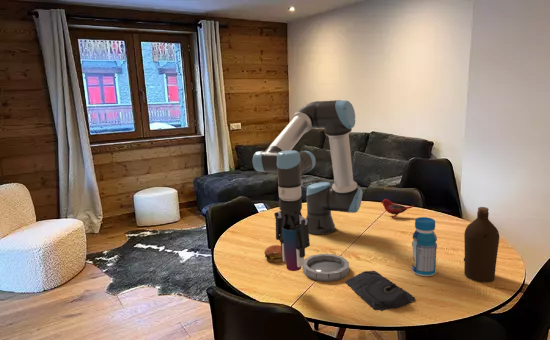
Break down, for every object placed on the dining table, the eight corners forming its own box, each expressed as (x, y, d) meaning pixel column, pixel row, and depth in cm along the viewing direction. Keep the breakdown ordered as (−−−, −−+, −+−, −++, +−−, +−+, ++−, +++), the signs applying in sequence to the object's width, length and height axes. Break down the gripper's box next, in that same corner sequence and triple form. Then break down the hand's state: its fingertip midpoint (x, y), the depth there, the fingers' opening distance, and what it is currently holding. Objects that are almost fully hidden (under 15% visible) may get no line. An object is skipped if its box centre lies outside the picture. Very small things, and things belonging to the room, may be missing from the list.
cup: (283, 264, 132) (280, 223, 129) (302, 262, 133) (300, 222, 130) (285, 273, 126) (282, 231, 123) (305, 271, 126) (303, 229, 123)
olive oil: (503, 280, 129) (509, 210, 124) (478, 285, 127) (482, 214, 122) (480, 267, 139) (484, 202, 135) (455, 272, 137) (458, 205, 132)
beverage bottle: (424, 279, 132) (426, 225, 129) (406, 270, 140) (407, 218, 136) (441, 273, 136) (443, 220, 132) (422, 264, 144) (424, 214, 140)
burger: (285, 252, 162) (285, 242, 161) (290, 261, 153) (290, 250, 152) (262, 255, 160) (262, 244, 159) (266, 264, 151) (266, 253, 150)
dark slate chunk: (379, 274, 139) (379, 262, 138) (419, 304, 118) (420, 290, 117) (342, 282, 134) (341, 270, 133) (377, 315, 113) (377, 300, 112)
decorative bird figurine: (380, 216, 202) (380, 198, 201) (414, 216, 200) (415, 198, 198) (381, 218, 200) (381, 199, 198) (415, 218, 197) (416, 199, 195)
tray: (294, 272, 143) (293, 264, 142) (321, 257, 154) (321, 250, 154) (330, 286, 131) (330, 278, 130) (357, 269, 142) (357, 261, 142)
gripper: (262, 196, 128) (266, 259, 133) (304, 205, 115) (307, 275, 120) (277, 191, 133) (281, 252, 138) (320, 199, 120) (322, 266, 125)
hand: (293, 262), depth 129 cm, fingers closed on cup, 6 cm apart
